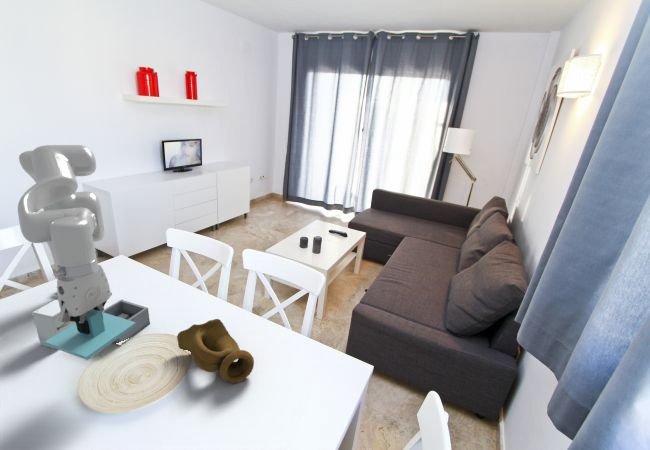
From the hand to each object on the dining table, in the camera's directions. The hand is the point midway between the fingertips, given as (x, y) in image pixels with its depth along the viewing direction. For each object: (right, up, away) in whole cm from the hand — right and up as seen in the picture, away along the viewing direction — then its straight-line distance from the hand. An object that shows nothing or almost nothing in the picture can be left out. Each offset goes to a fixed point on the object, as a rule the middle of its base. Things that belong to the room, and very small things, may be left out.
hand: (91, 327), depth 82 cm
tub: (-9, -9, +26) cm, 29 cm away
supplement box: (-25, -11, +19) cm, 33 cm away
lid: (0, -3, +1) cm, 4 cm away
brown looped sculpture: (+27, -17, +17) cm, 36 cm away
